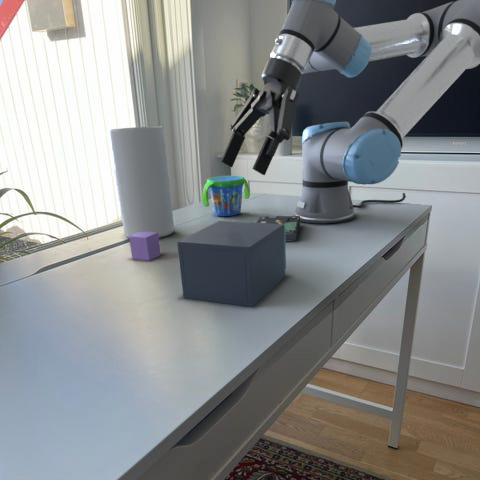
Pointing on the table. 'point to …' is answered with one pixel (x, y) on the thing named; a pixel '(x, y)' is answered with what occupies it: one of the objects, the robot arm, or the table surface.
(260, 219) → the disk drive
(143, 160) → the cylinder vase
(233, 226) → the slate grey box
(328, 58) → the robot arm
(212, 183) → the snack cup
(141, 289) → the table surface
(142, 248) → the purple block
